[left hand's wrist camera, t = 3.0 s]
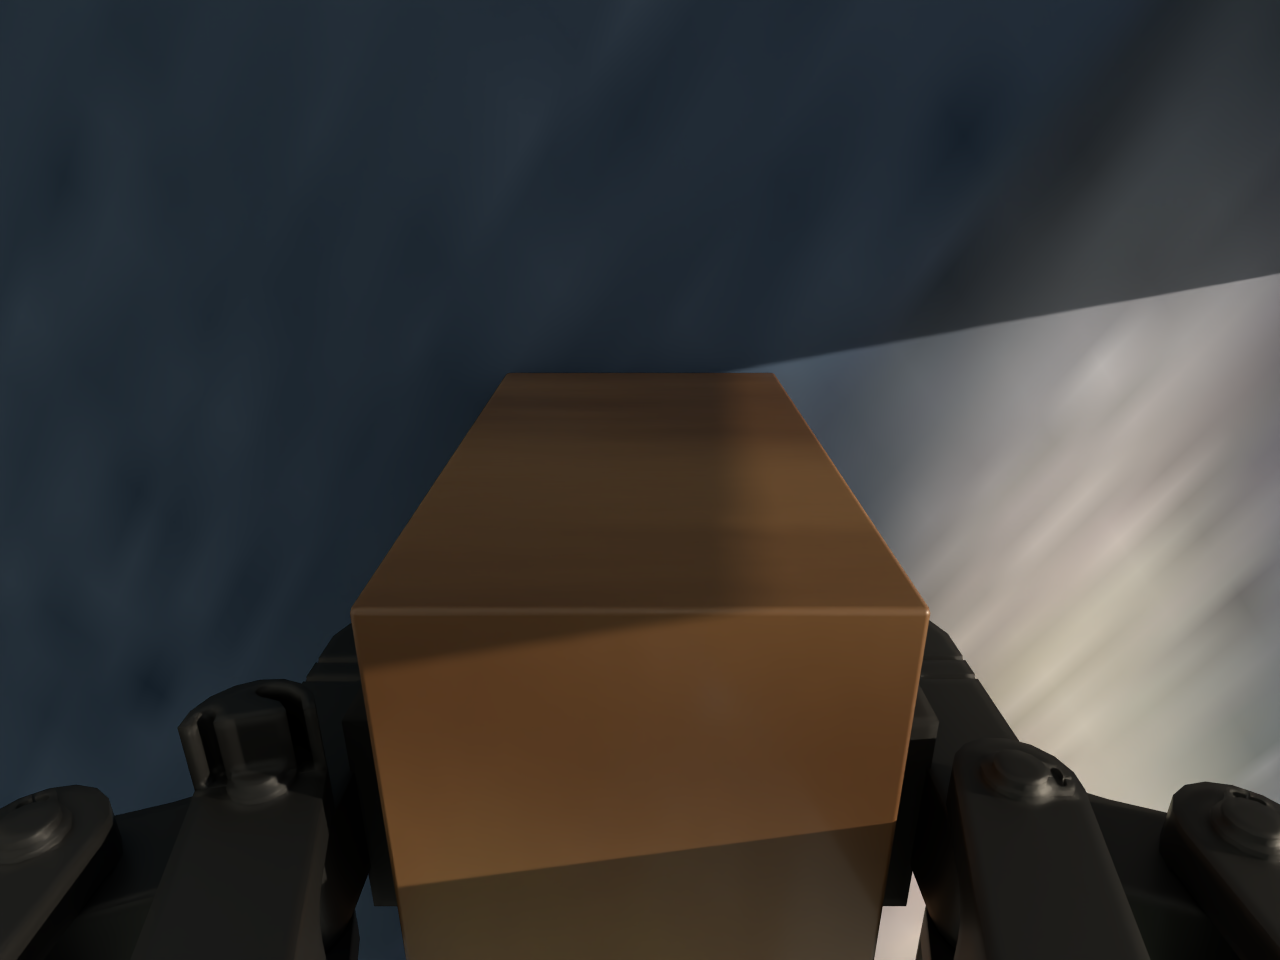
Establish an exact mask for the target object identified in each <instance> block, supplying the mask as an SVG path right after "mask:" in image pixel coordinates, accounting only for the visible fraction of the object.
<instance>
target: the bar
mask: <svg viewBox="0 0 1280 960" xmlns="http://www.w3.org/2000/svg"><path fill="white" fill-rule="evenodd" d="M350 616H351V622H352V629H353V635H354V641H355V647H356V653H357V659H358V666H359V672H360V678H361V684H362V690H363V696H364V702H365V709H366V715H367V721H368V727H369V733H370V739H371V746H372V752H373V758H374V764H375V770H376V776H377V783H378V789H379V795H380V801H381V807H382V813H383V820H384V826H385V832H386V838H387V844H388V850H389V856H390V863H391V869H392V875H393V881H394V887H395V893H396V900H397V906H398V912H399V918H400V924H401V930H402V937H403V943H404V949H405V955H406V960H874V956H875V950H876V944H877V938H878V932H879V925H880V919H881V913H882V907H883V901H884V895H885V888H886V882H887V876H888V870H889V864H890V858H891V851H892V845H893V839H894V833H895V827H896V821H897V815H898V808H899V802H900V796H901V790H902V784H903V778H904V771H905V765H906V759H907V753H908V747H909V741H910V735H911V728H912V722H913V716H914V710H915V704H916V698H917V691H918V685H919V679H920V673H921V667H922V661H923V655H924V648H925V642H926V636H927V630H928V624H929V618H930V610H929V607H928V606H927V604H926V603H925V601H924V600H923V598H922V597H921V595H920V594H919V592H918V591H917V589H916V588H915V586H914V585H913V583H912V582H911V580H910V579H909V577H908V576H907V574H906V573H905V571H904V570H903V568H902V567H901V565H900V564H899V562H898V561H897V559H896V558H895V556H894V554H893V553H892V551H891V550H890V548H889V547H888V545H887V544H886V542H885V541H884V539H883V538H882V536H881V535H880V533H879V532H878V530H877V529H876V527H875V526H874V524H873V523H872V521H871V520H870V518H869V517H868V515H867V514H866V512H865V511H864V509H863V508H862V506H861V505H860V503H859V502H858V500H857V499H856V497H855V496H854V494H853V493H852V491H851V490H850V488H849V486H848V485H847V483H846V482H845V480H844V479H843V477H842V476H841V474H840V473H839V471H838V470H837V468H836V467H835V465H834V464H833V462H832V461H831V459H830V458H829V456H828V455H827V453H826V452H825V450H824V449H823V447H822V446H821V444H820V443H819V441H818V440H817V438H816V437H815V435H814V434H813V432H812V431H811V429H810V428H809V426H808V425H807V423H806V421H805V420H804V418H803V417H802V415H801V414H800V412H799V411H798V409H797V408H796V406H795V405H794V403H793V402H792V400H791V399H790V397H789V396H788V394H787V393H786V391H785V390H784V388H783V387H782V385H781V384H780V382H779V381H778V379H777V378H776V376H775V375H774V374H773V373H508V374H506V376H505V377H504V379H503V380H502V382H501V383H500V385H499V386H498V388H497V389H496V391H495V392H494V394H493V395H492V397H491V398H490V400H489V401H488V403H487V404H486V406H485V407H484V409H483V410H482V412H481V413H480V415H479V416H478V418H477V419H476V421H475V422H474V424H473V425H472V427H471V428H470V430H469V431H468V433H467V434H466V436H465V437H464V439H463V440H462V442H461V443H460V445H459V446H458V448H457V449H456V451H455V452H454V454H453V455H452V457H451V458H450V460H449V461H448V463H447V464H446V466H445V467H444V469H443V470H442V472H441V473H440V475H439V477H438V478H437V480H436V481H435V483H434V484H433V486H432V487H431V489H430V490H429V492H428V493H427V495H426V496H425V498H424V499H423V501H422V502H421V504H420V505H419V507H418V508H417V510H416V511H415V513H414V514H413V516H412V517H411V519H410V520H409V522H408V523H407V525H406V526H405V528H404V529H403V531H402V532H401V534H400V535H399V537H398V538H397V540H396V541H395V543H394V544H393V546H392V547H391V549H390V550H389V552H388V553H387V555H386V556H385V558H384V559H383V561H382V562H381V564H380V565H379V567H378V568H377V570H376V571H375V573H374V574H373V576H372V577H371V579H370V580H369V582H368V583H367V585H366V586H365V588H364V589H363V591H362V592H361V594H360V595H359V597H358V598H357V600H356V601H355V603H354V604H353V606H352V608H351V611H350Z"/></svg>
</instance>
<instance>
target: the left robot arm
mask: <svg viewBox="0 0 1280 960" xmlns="http://www.w3.org/2000/svg"><path fill="white" fill-rule="evenodd" d="M178 731H179V735H180V739H181V742H182V746H183V749H184V753H185V757H186V760H187V764H188V768H189V771H190V775H191V778H192V782H193V786H194V789H195V792H194V795H193V796H192V797H189V798H186V799H182V800H179V801H176V802H172V803H168V804H164V805H159V806H155V807H151V808H146V809H142V810H138V811H133V812H129V813H125V814H120V815H116V816H114V813H113V810H112V807H111V804H110V801H109V798H108V797H107V796H105V795H104V794H103V793H102V792H101V791H100V790H98V789H97V788H93V787H87V786H81V785H71V786H63V787H56V788H49V789H46V790H43V791H40V792H37V793H34V794H31V795H28V796H25V797H23V798H20V799H18V800H16V801H14V802H12V803H10V804H8V805H6V806H5V807H3V808H1V809H0V960H358V951H359V941H360V937H359V930H358V924H357V918H356V913H355V907H356V904H357V902H358V899H359V897H360V894H361V891H362V889H363V886H364V884H365V881H366V878H367V876H368V873H369V879H370V885H371V890H372V896H373V901H374V906H397V900H396V893H395V887H394V881H393V875H392V869H391V863H390V856H389V850H388V844H387V838H386V832H385V826H384V820H383V813H382V807H381V801H380V795H379V789H378V783H377V776H376V770H375V764H374V758H373V752H372V746H371V739H370V733H369V727H368V721H367V715H366V709H365V702H364V696H363V690H362V684H361V678H360V672H359V666H358V659H357V653H356V647H355V641H354V635H353V629H352V623H351V624H349V625H348V626H347V627H345V628H344V629H342V630H341V631H340V632H338V633H337V634H336V635H334V636H333V637H332V639H331V640H330V642H329V643H328V645H327V646H326V648H325V650H324V651H323V653H322V654H321V656H320V657H319V662H318V663H315V665H314V666H313V668H312V669H311V671H310V672H309V674H308V675H307V679H306V682H303V683H302V684H301V683H297V682H293V681H289V680H286V679H271V680H258V681H253V682H249V683H245V684H241V685H237V686H234V687H231V688H229V689H227V690H225V691H222V692H220V693H218V694H216V695H213V696H211V697H209V698H208V699H207V700H205V701H204V702H202V703H201V704H200V705H198V706H197V707H196V708H194V709H193V710H191V711H190V712H189V713H188V715H187V716H186V717H185V719H184V720H183V721H182V723H181V724H180V725H179V727H178ZM912 871H913V873H914V876H915V878H916V881H917V883H918V886H919V889H920V891H921V894H922V896H923V899H924V901H925V904H926V907H925V913H924V918H923V923H922V928H921V934H920V939H919V944H918V949H917V954H916V960H1280V804H1278V803H1276V802H1274V801H1272V800H1270V799H1268V798H1267V797H1265V796H1263V795H1260V794H1257V793H1254V792H1251V791H1248V790H1245V789H1242V788H1239V787H1236V786H1233V785H1227V784H1219V783H1212V782H1200V783H1194V784H1188V785H1184V786H1183V787H1182V788H1181V789H1180V790H1178V791H1177V792H1176V793H1175V794H1174V795H1173V797H1172V800H1171V803H1170V806H1169V809H1168V812H1167V813H1165V812H1161V811H1157V810H1152V809H1148V808H1144V807H1139V806H1135V805H1131V804H1126V803H1122V802H1117V801H1113V800H1109V799H1105V798H1102V797H1099V796H1095V795H1092V794H1089V793H1086V791H1085V789H1084V787H1083V786H1082V784H1081V783H1080V781H1079V780H1078V778H1077V777H1076V775H1075V774H1074V772H1073V771H1071V770H1070V769H1069V768H1068V767H1067V766H1065V765H1064V764H1063V763H1062V762H1060V761H1059V760H1058V759H1057V758H1056V757H1054V756H1052V755H1050V754H1048V753H1046V752H1044V751H1042V750H1040V749H1038V748H1036V747H1034V746H1032V745H1030V744H1026V743H1022V742H1019V740H1018V739H1017V737H1016V736H1015V734H1014V733H1013V731H1012V730H1011V728H1010V727H1009V725H1008V724H1007V722H1006V721H1005V719H1004V718H1003V716H1002V715H1001V713H1000V712H999V710H998V709H997V707H996V706H995V704H994V703H993V701H992V700H991V698H990V697H989V695H988V694H987V692H986V691H985V689H984V688H983V686H982V685H981V683H980V682H979V680H978V679H975V674H974V673H973V671H972V670H971V668H970V666H969V665H968V663H967V662H966V660H963V659H962V654H961V653H960V651H959V650H958V648H957V647H956V645H955V644H954V642H953V641H952V639H951V638H950V636H949V635H948V634H947V633H946V632H945V631H943V630H942V629H941V628H939V627H938V626H936V625H935V624H934V623H932V622H931V621H929V624H928V630H927V636H926V642H925V648H924V655H923V661H922V667H921V673H920V679H919V685H918V691H917V698H916V704H915V710H914V716H913V722H912V728H911V735H910V741H909V747H908V753H907V759H906V765H905V771H904V778H903V784H902V790H901V796H900V802H899V808H898V815H897V821H896V827H895V833H894V839H893V845H892V851H891V858H890V864H889V870H888V876H887V882H886V888H885V895H884V901H883V906H906V904H907V899H908V893H909V888H910V882H911V876H912Z"/></svg>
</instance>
